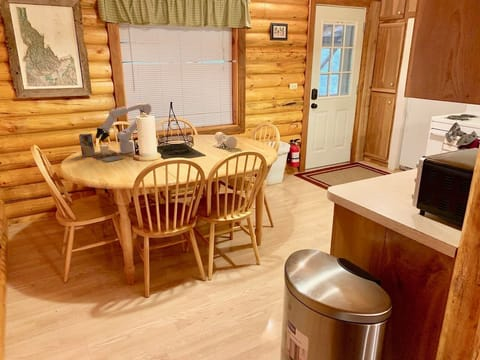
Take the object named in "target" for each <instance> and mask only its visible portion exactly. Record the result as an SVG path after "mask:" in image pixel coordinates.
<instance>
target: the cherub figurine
mask: <svg viewBox="0 0 480 360" xmlns="http://www.w3.org/2000/svg"><path fill="white" fill-rule="evenodd" d="M214 139H215V141H216V142H214V143H212V146H213V147H214V148H220V147H222V146H226V148H228V149H230V150H233V149H235V148H236V147H237V145H238V139H237V138H236V136H234V135H231V136H229V135H227V134H225V133H223V132H222V131H218V132H216V133H215V134H214Z"/></svg>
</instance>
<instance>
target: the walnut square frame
mask: <svg viewBox="0 0 480 360" xmlns="http://www.w3.org/2000/svg"><path fill="white" fill-rule="evenodd" d="M108 150H109V153H105V154H102V153H101V151H100V150H99V151H95V152H94V153H93V156H92V157H94V158H96V159H98V160H101V159H103V158H108V157H113V156H118V155H119V154H118V152H117V151H115V150H112V149H108ZM118 157H119V156H118Z"/></svg>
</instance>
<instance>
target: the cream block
mask: <svg viewBox="0 0 480 360" xmlns="http://www.w3.org/2000/svg"><path fill="white" fill-rule="evenodd" d="M99 149H100V150H99V152H100V151H101V153H102V154H105V153H109V150H110V149H109V145H107V144H101V145H99Z"/></svg>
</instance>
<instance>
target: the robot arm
mask: <svg viewBox="0 0 480 360" xmlns="http://www.w3.org/2000/svg"><path fill="white" fill-rule="evenodd" d="M137 110H139V113H140V115H139V116H141V113H143V112H144V113H146V114H147V115H149V116H150V114H151V112H152V105H150V104H149V103H145V102H140V103H136V104H133V105H130V106H127V107H126V106H124V105H122V106H121V107H115V109H110V110H109V112H108V116H107V117H106V119H105V121H104V123H103V124H102V125H99V126H98V127H97V128H96V133H95V139H97V140H98V139H99V141H100V142H102V143H103V141H105V140H106V139H107V138H109V137H110V136H111V135H110V134H111V132H110V130H111V128H112V127H113V125H114V123H115V121H116V120H117V118H120V117H121V116H124V115H128V113H129V112H133V111H137ZM137 129H138V128H137V124H136V119H135V120H134V121H132V123H131V124H130V125H129V126H128V127H126V128H125V129H123V130H121V131H119V132H117V135H116V136H117V138H118V141H119V149H120V150H118V152H117V153H120V154H123V155H125V154H129V153H133V152H135V150H134V144H133V141H132V140H131V137H132V136H133V135H132V134H133V133H134V132H135V131H136V130H137Z"/></svg>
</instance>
